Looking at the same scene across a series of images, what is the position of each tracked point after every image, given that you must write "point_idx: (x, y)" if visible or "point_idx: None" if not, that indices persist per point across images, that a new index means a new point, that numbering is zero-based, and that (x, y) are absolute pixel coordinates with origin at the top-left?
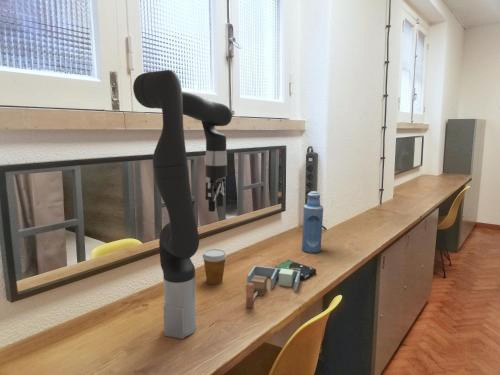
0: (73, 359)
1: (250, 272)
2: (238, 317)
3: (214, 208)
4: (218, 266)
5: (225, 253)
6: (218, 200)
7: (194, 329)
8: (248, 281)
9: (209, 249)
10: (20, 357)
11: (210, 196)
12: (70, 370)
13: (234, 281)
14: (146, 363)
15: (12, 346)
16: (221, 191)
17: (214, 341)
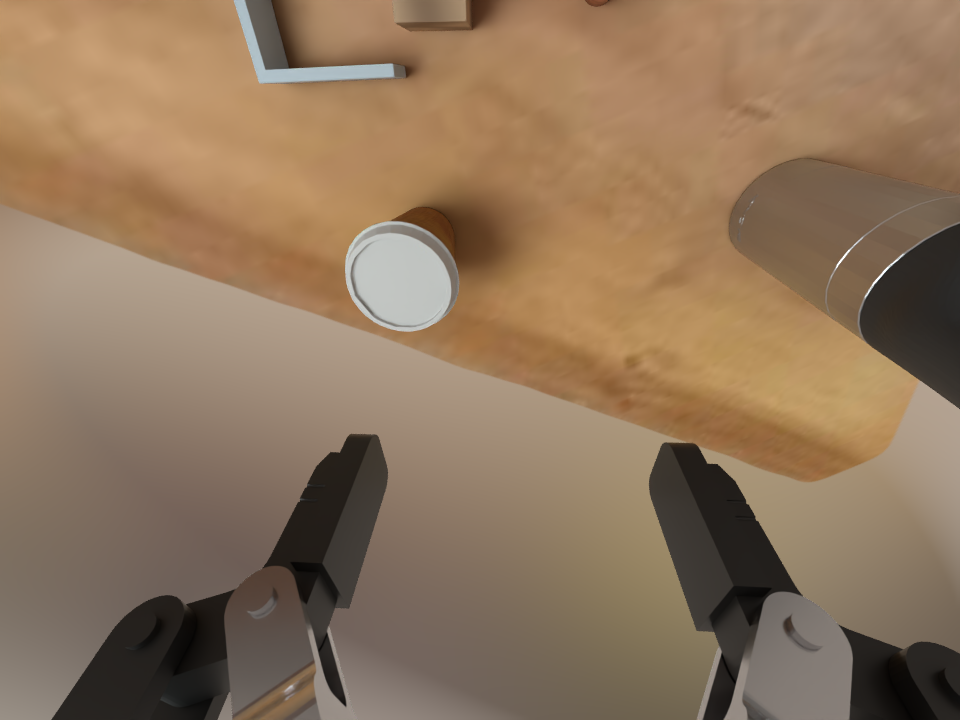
0: (880, 381)
1: (349, 73)
2: (704, 7)
3: (709, 472)
4: (439, 235)
5: (376, 233)
6: (364, 533)
7: (806, 159)
8: (400, 70)
9: (373, 320)
10: (846, 454)
11: (714, 710)
12: None
13: (394, 156)
14: None
15: (804, 480)
16: (329, 711)
17: (887, 47)
